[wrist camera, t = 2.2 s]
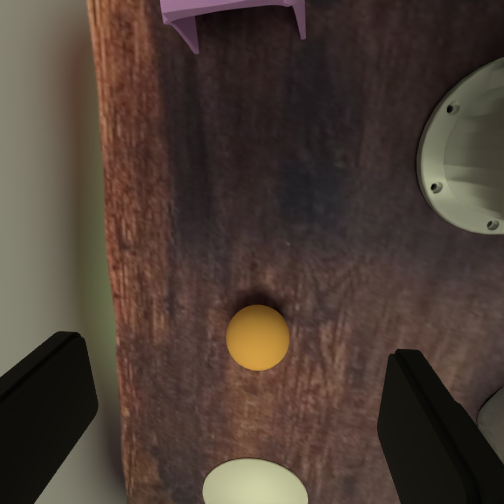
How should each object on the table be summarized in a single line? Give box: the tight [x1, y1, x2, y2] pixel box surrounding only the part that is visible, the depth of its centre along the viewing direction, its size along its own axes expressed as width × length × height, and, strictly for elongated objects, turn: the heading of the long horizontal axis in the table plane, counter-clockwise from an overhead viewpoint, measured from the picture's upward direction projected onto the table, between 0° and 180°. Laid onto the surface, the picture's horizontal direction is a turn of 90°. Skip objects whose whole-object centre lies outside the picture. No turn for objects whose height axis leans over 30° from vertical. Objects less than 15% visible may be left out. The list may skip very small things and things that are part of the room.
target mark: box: [203, 458, 308, 504], centre depth 37 cm, size 13×13×1 cm
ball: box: [226, 305, 290, 370], centre depth 27 cm, size 6×6×6 cm
